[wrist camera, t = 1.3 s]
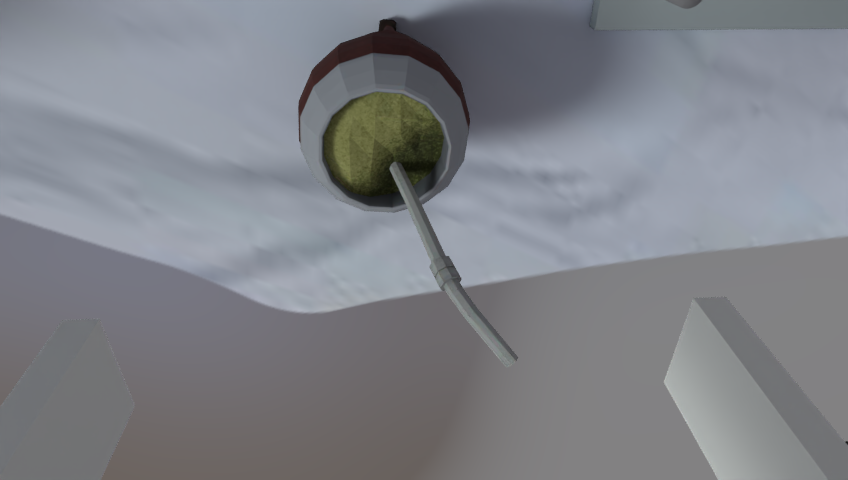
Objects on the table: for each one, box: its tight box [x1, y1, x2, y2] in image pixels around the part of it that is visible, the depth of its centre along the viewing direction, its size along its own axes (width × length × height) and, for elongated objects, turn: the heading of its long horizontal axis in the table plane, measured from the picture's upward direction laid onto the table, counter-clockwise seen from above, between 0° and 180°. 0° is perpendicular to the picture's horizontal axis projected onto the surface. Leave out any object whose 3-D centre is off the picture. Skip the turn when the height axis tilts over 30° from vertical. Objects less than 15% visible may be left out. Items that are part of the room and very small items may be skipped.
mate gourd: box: [299, 19, 518, 367], centre depth 21 cm, size 8×8×15 cm
